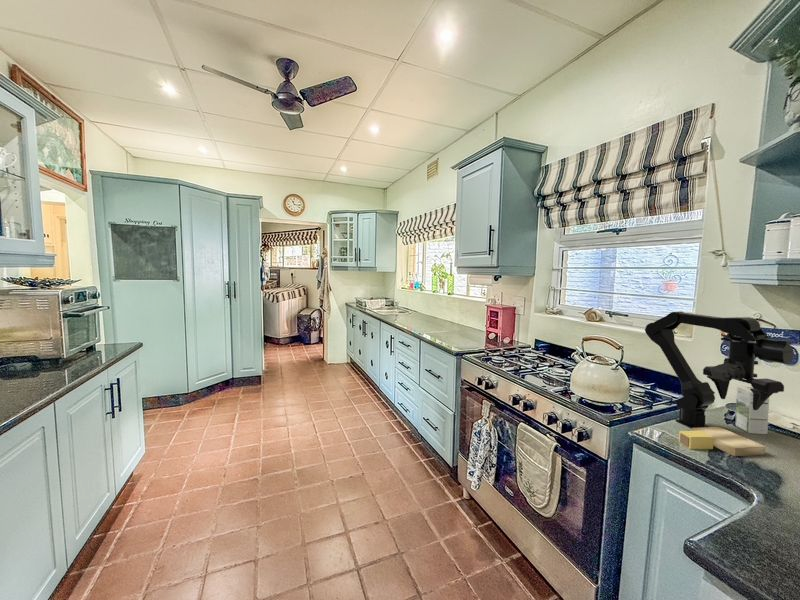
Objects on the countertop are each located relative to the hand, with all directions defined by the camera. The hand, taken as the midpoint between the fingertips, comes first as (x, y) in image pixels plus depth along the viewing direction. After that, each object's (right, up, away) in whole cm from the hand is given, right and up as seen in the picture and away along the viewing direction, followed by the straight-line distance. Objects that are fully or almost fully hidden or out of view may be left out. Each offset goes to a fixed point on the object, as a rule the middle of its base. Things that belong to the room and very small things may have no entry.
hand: (738, 404), depth 104 cm
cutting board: (-6, -12, -2) cm, 14 cm away
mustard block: (-13, -10, -3) cm, 17 cm away
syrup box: (+12, -12, +8) cm, 19 cm away
